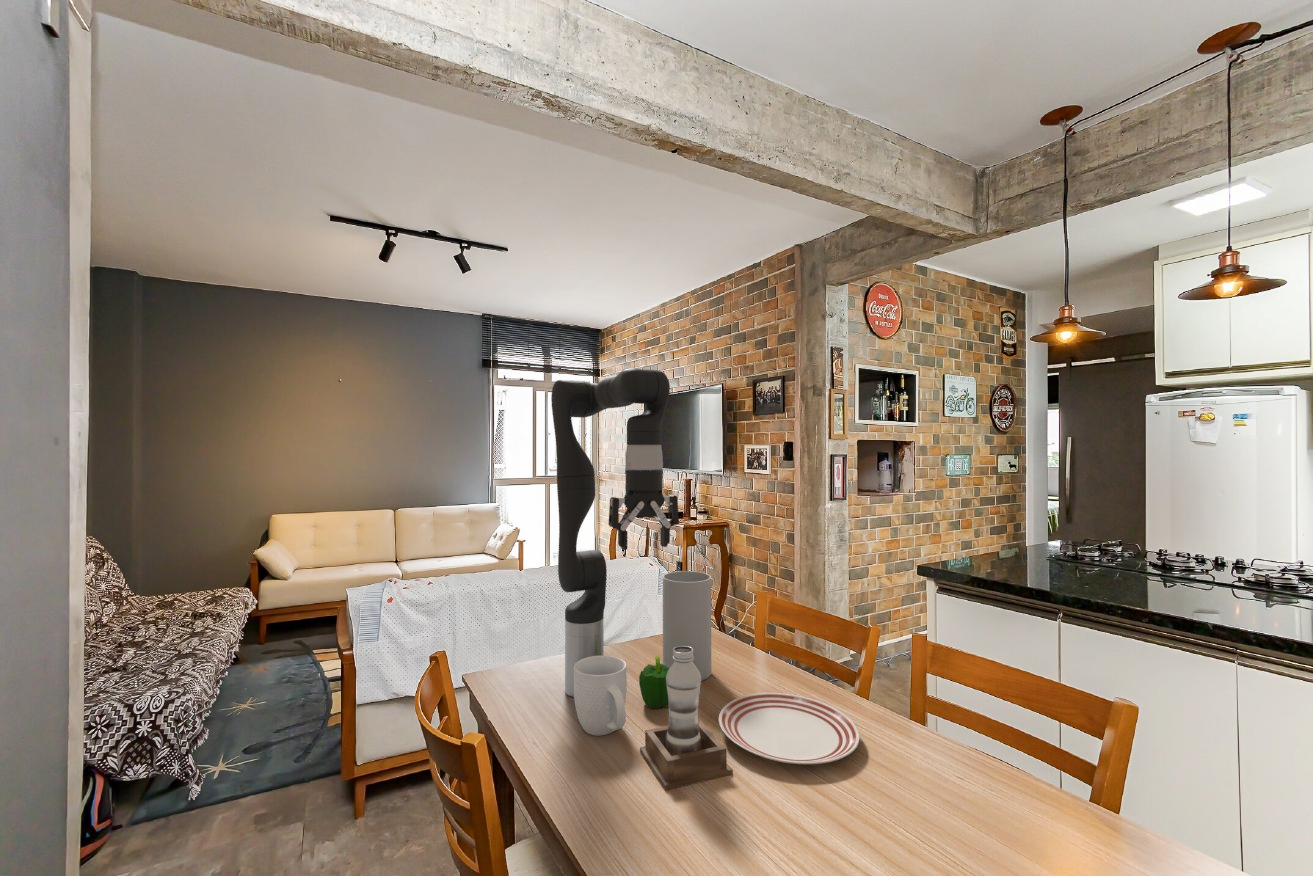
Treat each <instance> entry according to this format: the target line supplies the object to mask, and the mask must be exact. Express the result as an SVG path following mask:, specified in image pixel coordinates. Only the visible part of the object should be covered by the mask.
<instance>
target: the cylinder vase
mask: <svg viewBox="0 0 1313 876" xmlns="http://www.w3.org/2000/svg"><path fill="white" fill-rule="evenodd" d="M678 646H688V647H691V648H692V649H693V656H694V660H693V661H692V662H693V663H694V665H695V666H696V667H697V669H698V670H699V672H700V675H701V682H702V681H705V680H707V679H708V678H709V677H710V676H711V675H712V575H710V574H709V573H706V572H700V571H691V570H690V571H689V570H680V571H671V572H667V573H664V574H663V575H662V664H664V665H665V666H667V668H670V667H671V666H672V664H673V663H674V660H673V649H674V648H675V647H678Z"/></svg>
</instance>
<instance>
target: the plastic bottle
mask: <svg viewBox="0 0 1313 876" xmlns="http://www.w3.org/2000/svg"><path fill="white" fill-rule="evenodd" d="M673 660H674V663H673V664H672V666H671V667H670V669H669V670H668V672H667V676H666V684H667V692H668V703H669V706H668V722H667V726H668V731H667V735H666V742H665V746H666V750H667V751H668V752H669V754H670V755H671V756H675V755H680V754H685V753H689V752H694V751H699V750H701V736H700V732H699V721H698V720H699V703H700V702H699V699H700V693H701V692H700V691H701V685H702V681H701V675H700V672H699V670H698V669H697V667H696V666H695V665H694V663H693V662H692V661H693V660H694V656H693V649H692V648H691V647H688V646H678V647H675V648H674V649H673Z"/></svg>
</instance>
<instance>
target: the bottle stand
mask: <svg viewBox="0 0 1313 876" xmlns="http://www.w3.org/2000/svg"><path fill="white" fill-rule="evenodd" d="M698 721H699V732H700V736H701V750H699V751H694V752H689V753H685V754H680V755H675V756H671V755H670V754H669V752H668V751H667V750H666V746H665V742H666V735H667V731H668V725H664V726H660V727H655V728H649V729H646V730H645V731H644V734H645V737H644V738H645V739H644V740H645V741H644V743H645V745H644V746H641V747H639V752H640V754H641V756H642V757H643V759H644V760H645V761H646V762H645V763H647V764H648V766H649V768H650V769H651V771H652V772H653V773H654V776H655V777H656V778H657V780H658V781H659V783H660V785H661V786H662V788H663V789H664V790H665V791H669V790H672V789H676V788H681V787H684V786H689V785H693V784H697V783H702V782H705V781H709V780H714V779H718V778H722V777H727V776H730V775H731V776H733V774H734V771H733V768H732V767H731V765H729V764H728V760H727V757H728V756H727V752H728V751H727V746H725V745H724V744H723V742H721V741H720V740H719V738H717V737H716V735H714V733H712V732H711V730H710V729H709V728H708V727H707V726H706V725H705V724H704V723H703V722H702V721H701V719H698Z"/></svg>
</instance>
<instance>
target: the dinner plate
mask: <svg viewBox="0 0 1313 876" xmlns="http://www.w3.org/2000/svg"><path fill="white" fill-rule="evenodd" d="M718 724H719V726H720V729H721V730H722V732H723V734H724V735H725V736H726V737H727V738H728V739H729V740H731V742H733V743H734V744H735V745H737V746H739V748H741V749H743V750H745V751H747V752H749V753H750V754H753V755H756V756H758V757H761V758H764V759H767V760H769V761H770V760H771V761H774V762H780V763H784V764H794V765H795V764H796V765H820V764H821V765H822V764H829V763H832V762H837V761H839V760H841V759H844V758H846V757H848V756H849V755H851V754H852V753H853V752H854V751H855V750H856V749H857V748H858V746H859V743H860V732H859V730H858V727H857V726H856V724H855V723H854V722H853V720H852V719H851V718H850V717H849V716H847V715H846V714H845V713H843V712H842V710H841V711H840V710H839V709H837V708H835V707H833V706H832V705H829V704H827V703H825V702H823V701H820V700H818V699H817V700H816V699H814V698H810V697H807V696H802V695H797V694H792V693H783V692H757V693H756V692H755V693H751V694H746V695H742V696H739V697H737V698H735V699H732V700H731V701H730V702H728V703H726V704H725V705H724V706H723V707H722V709H721V710H720V712H719V715H718Z"/></svg>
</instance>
